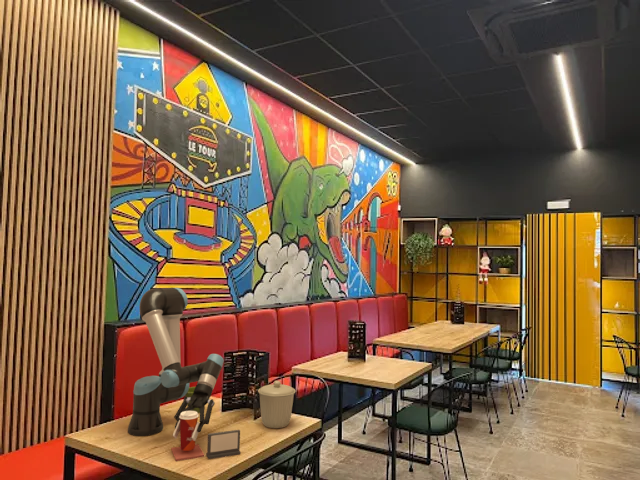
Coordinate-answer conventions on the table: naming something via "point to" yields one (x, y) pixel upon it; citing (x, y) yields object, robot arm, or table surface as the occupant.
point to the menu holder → (223, 444)
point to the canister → (276, 404)
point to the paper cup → (187, 429)
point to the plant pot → (189, 394)
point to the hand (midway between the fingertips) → (183, 438)
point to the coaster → (187, 453)
